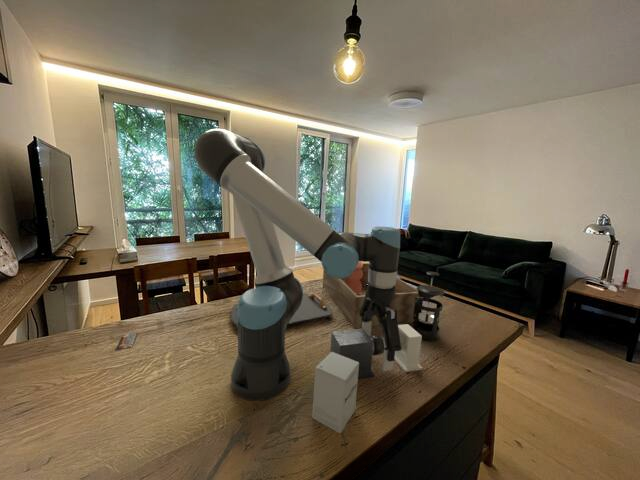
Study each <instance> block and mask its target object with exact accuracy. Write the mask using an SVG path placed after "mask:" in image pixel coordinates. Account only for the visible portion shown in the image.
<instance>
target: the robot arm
mask: <svg viewBox="0 0 640 480" xmlns="http://www.w3.org/2000/svg"><path fill="white" fill-rule="evenodd" d="M196 140H197V141H196V142H195V144H194V145H195V146H194V156H195V157H194V158H195V161H196V163H197V165H198V167H199V169H200V170H201V171H202V172H203V173H204V174H205V175H206V176H207V177H209V178H210V179H211V180H212V181H214V182H215V183H216V184H217V185H218V186H220V188H222V189H224V190H225V192H226V191H227V192H228V193H230V194H231V195H232V198H233V201H234V204H235V208H236V211H237V214H238V217H239V221H240V224H241V226H242V230H243V233H244V237H245V239H246V243H247V246H248V249H249V253H250V257H251V258H252V263H253V266H254V268H255V272H256V276H255V278H254V280H253V285H254V286H255V288H250V289H248V290H246V291H245V292H244V293H242V294H241V295H240V297H239V299H238V302H237V304H238V309H237V320H238V327H237V356H236V359H235V361H234V364H233V367H232V370H231V373H230V374H231V375H230V386H231V389H232V391H233V392H234V394H236V395H237V396H238V397H240V398H241V399H244V400H249V401H264V400H269V399H272V398H275V397H277V396H279V395H280V394H282V393H283V392H284V391H285V390H286V389H288V387H289V384H290V383H291V379H292V378H291V377H292V375H291V372H292V371H291V370H292V369H291V366H290V362H289V359H288V357H287V353H286V350H285V349H286V348H285V347H286V328H287V326H288V325H287V324H288V323H289V321H290V320H291V318H292V317H293V315H294V314H295V312H296V311H297V310H298V309H299V307H300V305H301V302H302V299H303V294H304V290H303V289H304V288H303V286H302V283H301V282H300V280H299V279H298V278H297V277H295V275H294V272H293V269H292V268H290V267H289V266H287V265H286V263H285V259H284V256H283V253H282V249H281V245H280V243H279V239H278V235H277V232H276V229H275V226H276V227H277V228H279V229H280V230H281V231H282V232H283V233H285V234H286V235H288V236H289V237H290V238H291V239H292V240H294V241H295V242H296V243H297V244H299V245H300V246H301V247H302V248H303V249H304V250H306V251H307V252H308V253H310V254H311V255H312V256H313V257H315V258H316V259H317V260H318V261H319V262H321V265H322V269H323V271H325V272H326V273H327V274H328V275H329V276H331V277H333V278H336V279H343V278H346V277H348V276H350V275H351V274H352V273H353V272H354V270H355V269H356V267H357V265H358V261H360V262H362V263H363V262H364V263H369V271H368V282H369V283H368V286H366V287H367V289H366V292H365V294H364V295H365V300H364V302H363V305H362V308H361V310H360V313H359V315H360V316H362V321H363V322H362V327H361V329H363V330H364V331H365V332H366V333H367V334H368V336H369V337H370V336H372V326H371V324H372V322H371V321H369V320H372V317H373V316H374V315H376V316H377V318H378V322H379V323H381V325H380V327H381V331H382V334H383V337H384V339H385V344H386V347H384V353H383V354H382V355H383V356H382V357H383V358H382V367H381V369H382V371H383V372H386V371H387V372H389V371H393V370H394V361H395V360H394V357H395V351H401V343H400V336H399V329H398V325H399V324H398V323H397V310H391V308H390V303H391V302H392V301H393V300H394V299H395V291H396V287H395V285H396V278H398V276H397V275H398V268H399V258H400V249H401V231H400V230H399V229H397V228H395V227H392V226H375V227H372V229H371V232H370V233H359V232H357V233H356V232H345V231H344V232H343V231H336V230H335V229H333V227H331V226H330V225H329V224H327V222H325V221H324V220H323V219H321V218H320V217H318V216H317V215H316V214H315V213H313V212H312V210H310V209H308V208H307V207H306V206H305V205H304V204H303V203H301V202H300V201H299V200H297V198H295V197H294V196H292V195H291V194H290V193H289V192H287V191H286V190H285V189H284V188H283V187H281V186H280V185H279V184H277V182H275V181H274V180H273V179H272V178H270V177H269V176H268V175H266V174H265V172H264V170H265V168H266V158H265V154H264V151H263V150H262V149H261V147H260V146H259V145H258V144H257V143H256V142H254V141H253V140H252V139H250V138H249V137H246V136H243V135H242V136H241V135H239V134H236V133H234V132H232V131H229V130H227V129H224V128H211V129H209V130H207V131H205V132H203V133H202V134H201V135H200V136H199V137H198V138H197V139H196ZM274 225H275V226H274ZM382 318H386V319H382Z"/></svg>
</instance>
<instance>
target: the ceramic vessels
mask: <svg viewBox="0 0 640 480" xmlns="http://www.w3.org/2000/svg"><path fill="white" fill-rule="evenodd" d="M362 267H363V261H358V265H357V267H356V269H355V270H354V272H353V273H352V274H351V275H350V276H348V277H346V278H345V279H344V280H343V281H344V282H345V283H346V284H347V285H348V286H349V287H350V288H351V289H352V290H353V291H354V292H355V293H356V294H357V295H359V294H360V293H361V291H362V289H363V286H362V284H361V282H360V281H359V280H360V279H361V278H362V276H363V271H362V270H361V268H362Z"/></svg>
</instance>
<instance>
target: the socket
mask: <svg viewBox="0 0 640 480" xmlns="http://www.w3.org/2000/svg"><path fill="white" fill-rule="evenodd" d="M398 329H399V336H400V343H401V351H395V357H394V361H395V362H396V363H397V365H398V366H399V367H400V368H401V369H402V370H403V372H404V373H408V372H415V371H422V370H423V368H424V367H422V366H421V364H420V363H419V361H420V355H421V346H422V345H421V344H422V341H423V340H422V336H421V335H420V334H419V333H418V332H417V331H415V330H414V329H413V328H412V326H410V324H408V323H402V324H398Z"/></svg>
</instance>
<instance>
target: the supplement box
mask: <svg viewBox="0 0 640 480" xmlns="http://www.w3.org/2000/svg"><path fill="white" fill-rule="evenodd" d="M358 370H359V362H357V361H354V360H352V359H349V358H347V357H344V356H342V355H339V354H336V353H334V352H331V351H330V352H329V354H327V356H326V357H324V359H322V360H321V361H320V362H319V363H318V364H317V365H316V366H315V367H314V380H313V381H314V382H313V397H312V398H313V399H312V413H311V414H312V416H311V417H312V419H314V420H316V421H317V422H319V423H321V424H323V426H326V427H328V428H329V429H331V430H333V431H335V432H337V433H338V434H342V432H343V431H344V429H345V427H346V425H347V424H348V422H349V420H350V419H351V417H352V415H353V414H354V412H355V411H356V402H357V392H358V391H357V390H358V381H359V379H358Z"/></svg>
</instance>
